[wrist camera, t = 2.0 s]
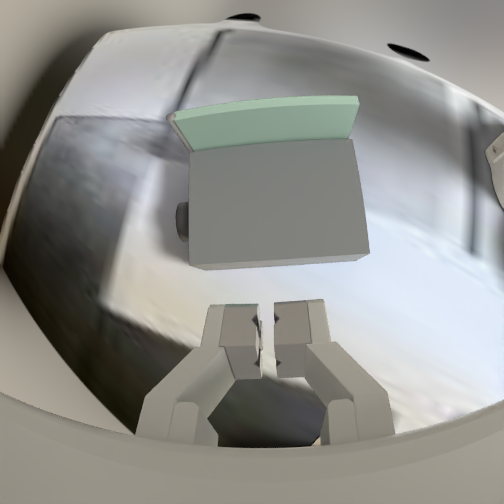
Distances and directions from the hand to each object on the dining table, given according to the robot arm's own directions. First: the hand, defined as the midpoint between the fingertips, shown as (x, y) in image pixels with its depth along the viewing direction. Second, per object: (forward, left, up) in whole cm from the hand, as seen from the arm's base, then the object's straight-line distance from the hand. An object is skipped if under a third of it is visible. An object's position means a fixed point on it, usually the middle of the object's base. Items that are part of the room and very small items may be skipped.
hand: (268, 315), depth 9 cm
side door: (-13, -15, -29) cm, 35 cm away
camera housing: (-8, -8, -29) cm, 31 cm away
